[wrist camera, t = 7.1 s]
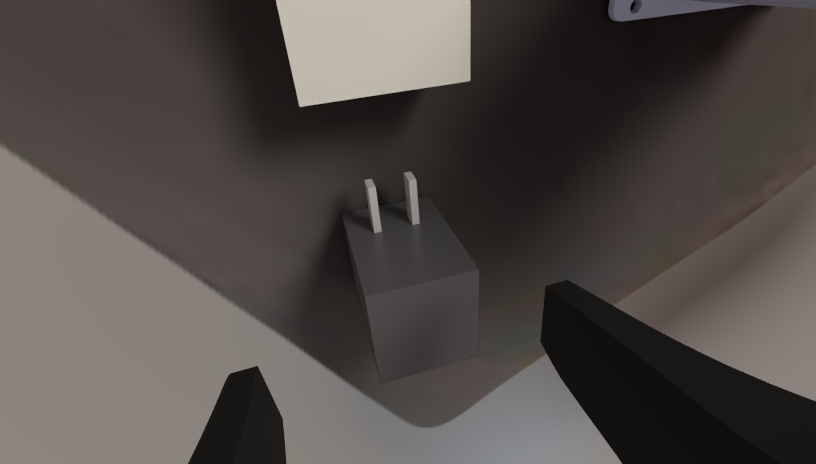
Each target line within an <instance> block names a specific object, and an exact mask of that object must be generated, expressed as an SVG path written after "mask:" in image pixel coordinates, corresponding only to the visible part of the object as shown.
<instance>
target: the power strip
mask: <svg viewBox="0 0 816 464" xmlns="http://www.w3.org/2000/svg"><path fill="white" fill-rule="evenodd" d="M276 3H277V8H278V12H279V17H280V21H281V26H282V30H283V35H284V39H285V44H286V48H287V53H288V57H289V62H290V66H291V71H292V75H293V80H294V84H295V89H296V93H297V98H298V102H299V107H303V106H309V105H316V104H323V103H329V102H336V101H342V100H349V99H356V98H362V97H369V96H375V95H382V94H388V93H395V92H402V91H408V90H415V89H421V88H428V87H434V86H441V85H448V84H454V83H461V82H467V81H470V0H276Z"/></svg>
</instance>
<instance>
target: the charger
mask: <svg viewBox="0 0 816 464" xmlns="http://www.w3.org/2000/svg"><path fill="white" fill-rule="evenodd" d="M364 182H365V189H366V195H367V202H368V208H366V209H361V210H356V211H351V212H346V213H342V217H343V222H344V227H345V233H346V238H347V243H348V248H349V253H350V258H351V264H352V269H353V274H354V279H355V284H356V289H357V293H358V297H359V301H360V305H361V309H362V313H363V317H364V321H365V325H366V328H367V332H368V336H369V340H370V344H371V348H372V352H373V356H374V360H375V364H376V368H377V372H378V375H379V379H380V383H384V382H387V381H391V380H394V379H398V378H402V377H405V376H409V375H412V374H416V373H419V372H423V371H427V370H430V369H434V368H437V367H441V366H444V365H448V364H452V363H455V362H459V361H462V360H466V359H469V358H473V357H477V356H478V319H479V268H478V267H477V265H476V264H475V263H474V261H473V260H472V258H471V257H470V255H469V254H468V252H467V251H466V250H465V248H464V247H463V245H462V244H461V242H460V241H459V239H458V238H457V237H456V235H455V234H454V232H453V231H452V229H451V228H450V226H449V225H448V224H447V222H446V221H445V219H444V218H443V216H442V215H441V214H440V212H439V211H438V209H437V208H436V206H435V205H434V203H433V202H432V201H431V199H430V198H429V196H425V197H420V198H418V195H417V182H416V178H415V177H414V175H413V174H412V172H411V171H410V172H405V173H404V183H405V193H406V200H405V201H400V202H396V203H391V204H386V205H381V206H378V200H377V193H376V187H375V185H374V183H373V180H372V179H368V180H364Z"/></svg>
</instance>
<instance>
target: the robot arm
mask: <svg viewBox="0 0 816 464" xmlns="http://www.w3.org/2000/svg"><path fill="white" fill-rule="evenodd" d="M633 1H635V6H634V8H633V10H632V11H630V6H631V4H632V2H633ZM742 5H764V6H782V7H799V8H816V0H610V2H609V8H608V14H609V17H610V18H611V19H612V20H613V21H621V22H623V21H630V20H638V19H645V18H653V17H660V16H667V15H675V14H682V13H690V12H697V11H705V10H712V9H720V8H727V7H735V6H742ZM540 342H541V343H542V345H543V347H544V349H545V351H546V353H547V355H548V356H549V358H550V360H551V362H552V364H553V365H554V367H555V369H556V371H557V372H558V374H559V376H560V378H561V379H562V380H563V382H564V383H565V385H566V386H567V387H568V389H569V390H570V392H571V393H572V394H573V396H574V397H575V399H576V400H577V401H578V403H579V404H580V406H581V407H582V408H583V410H584V411H585V413H586V414H587V415H588V417H589V418H590V419H591V421H592V422H593V423H594V425H595V426H596V428H597V429H598V430H599V431H600V433H601V434H602V436H603V437H604V439H605V440H606V441H607V443H608V444H609V445H610V447H611V448H612V449H613V451H614V452H615V454H616V455H617V456H618V458H619V459H620V461H621V462H622V464H816V401H813V400H810V399H808V398H805V397H802V396H800V395H797V394H794V393H792V392H789V391H787V390H784V389H782V388H779V387H777V386H774V385H772V384H769V383H767V382H765V381H762V380H760V379H758V378H755V377H753V376H750V375H748V374H746V373H744V372H741V371H739V370H737V369H734V368H732V367H730V366H728V365H725V364H723V363H721V362H719V361H717V360H715V359H713V358H710V357H708V356H706V355H704V354H702V353H700V352H698V351H696V350H694V349H692V348H690V347H688V346H686V345H684V344H682V343H680V342H678V341H676V340H674V339H672V338H670V337H669V336H666V335H665V334H663V333H661V332H659V331H657V330H655V329H653V328H652V327H650V326H648V325H646V324H644V323H642V322H641V321H639V320H637V319H635V318H633V317H632V316H630V315H628V314H626V313H625V312H623V311H621V310H619V309H618V308H616V307H614V306H612V305H611V304H609V303H607V302H605V301H604V300H602V299H600V298H598V297H597V296H595V295H593V294H592V293H590V292H588V291H586V290H585V289H583V288H581V287H579V286H577V285H576V284H574V283H572V282H570V281H568V280H566V281H562V282H558V283H555V284H551V285H548V286H546V289H545V299H544V310H543V320H542V330H541V340H540ZM188 464H286V454H285V440H284V430H283V419H282V417H281V414H280V412H279V410H278V408H277V406H276V404H275V402H274V400H273V398H272V396H271V393H270V391H269V389H268V387H267V385H266V383H265V381H264V379H263V376H262V374H261V372H260V370H259V368H258V366H256V367H252V368H249V369H245V370H242V371H238V372H234V373H231V374H230V375H229V376H228V378H227V379H226V381H225V384H224V386H223V388H222V391H221V393H220V396H219V398H218V400H217V403H216V405H215V407H214V410H213V412H212V414H211V416H210V419H209V421H208V423H207V425H206V427H205V430H204V432H203V434H202V436H201V438H200V440H199V442H198V444H197V447H196V449H195V451H194V453H193V455H192V457H191V459H190V461H189V463H188Z"/></svg>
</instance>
